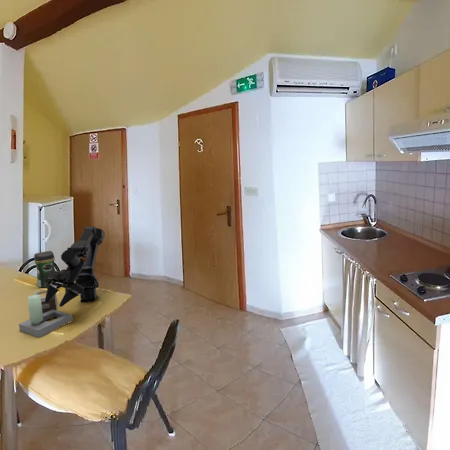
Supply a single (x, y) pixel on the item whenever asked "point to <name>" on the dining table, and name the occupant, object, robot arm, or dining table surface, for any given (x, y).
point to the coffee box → (50, 304)
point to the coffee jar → (44, 266)
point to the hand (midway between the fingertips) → (52, 304)
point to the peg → (35, 309)
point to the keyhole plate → (46, 323)
